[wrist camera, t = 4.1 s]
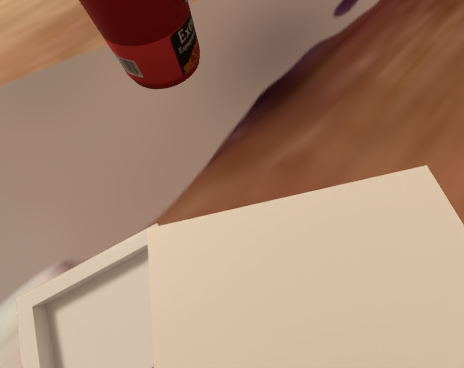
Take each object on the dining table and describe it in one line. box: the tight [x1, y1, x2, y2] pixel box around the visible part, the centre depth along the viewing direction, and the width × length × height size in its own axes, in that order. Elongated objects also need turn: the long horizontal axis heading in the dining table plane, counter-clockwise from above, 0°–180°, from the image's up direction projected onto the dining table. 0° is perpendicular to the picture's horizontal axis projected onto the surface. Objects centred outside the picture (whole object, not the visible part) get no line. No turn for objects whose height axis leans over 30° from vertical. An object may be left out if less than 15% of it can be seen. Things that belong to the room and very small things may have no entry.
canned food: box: [79, 0, 200, 89], centre depth 19 cm, size 8×8×11 cm
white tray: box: [15, 223, 161, 368], centre depth 14 cm, size 10×10×2 cm
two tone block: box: [147, 165, 464, 368], centre depth 9 cm, size 5×5×12 cm
